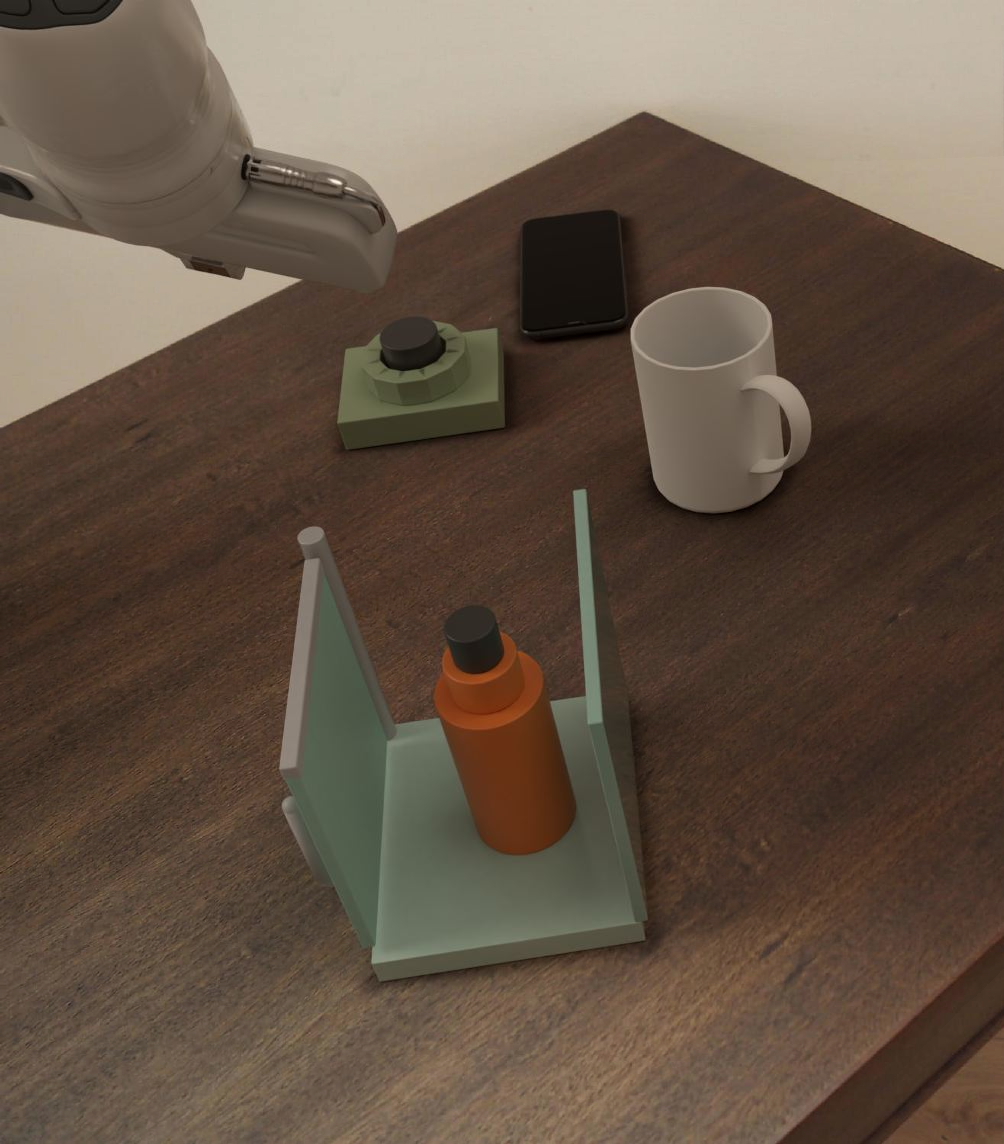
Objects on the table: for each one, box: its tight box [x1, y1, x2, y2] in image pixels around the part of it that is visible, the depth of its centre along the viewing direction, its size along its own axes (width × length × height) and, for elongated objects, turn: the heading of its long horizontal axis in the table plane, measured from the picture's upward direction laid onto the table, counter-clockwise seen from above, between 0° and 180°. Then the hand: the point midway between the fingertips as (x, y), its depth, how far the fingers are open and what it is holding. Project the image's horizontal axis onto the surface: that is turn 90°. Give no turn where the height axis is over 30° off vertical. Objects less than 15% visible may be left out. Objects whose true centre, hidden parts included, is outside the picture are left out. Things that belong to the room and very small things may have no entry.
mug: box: [630, 286, 812, 514], centre depth 89 cm, size 12×8×10 cm, turn 41°
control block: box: [336, 320, 506, 451], centre depth 100 cm, size 10×8×4 cm
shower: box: [296, 488, 649, 983], centre depth 70 cm, size 13×14×15 cm
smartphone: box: [518, 209, 630, 340], centre depth 110 cm, size 7×1×15 cm
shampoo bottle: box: [433, 604, 576, 855], centre depth 70 cm, size 5×5×13 cm
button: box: [379, 315, 443, 371], centre depth 98 cm, size 4×4×2 cm
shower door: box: [278, 558, 387, 949], centre depth 69 cm, size 2×12×12 cm, turn 7°
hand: (219, 261), depth 84 cm, fingers closed
